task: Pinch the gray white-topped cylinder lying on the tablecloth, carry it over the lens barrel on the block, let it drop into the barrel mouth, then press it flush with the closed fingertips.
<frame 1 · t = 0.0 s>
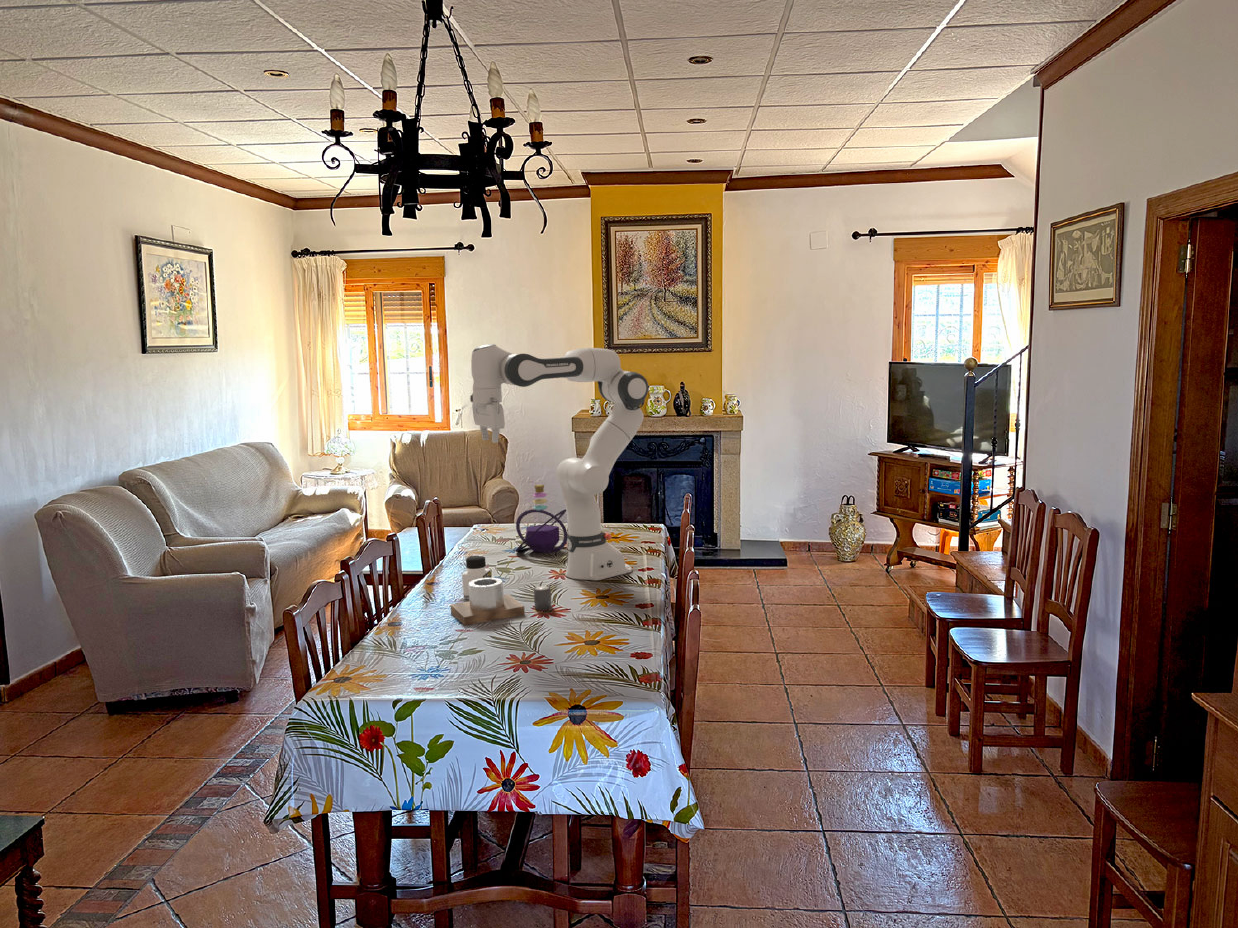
hand: (490, 441, 277), 48 cm above the table, fingers open, 8 cm apart
mounting block: (487, 613, 260), on the table
decorative bottle: (542, 550, 333), on the table
gray white-topped cylinder: (543, 607, 263), on the table
medicine bottle: (477, 593, 281), on the table
lens barrel: (486, 605, 259), resting on mounting block
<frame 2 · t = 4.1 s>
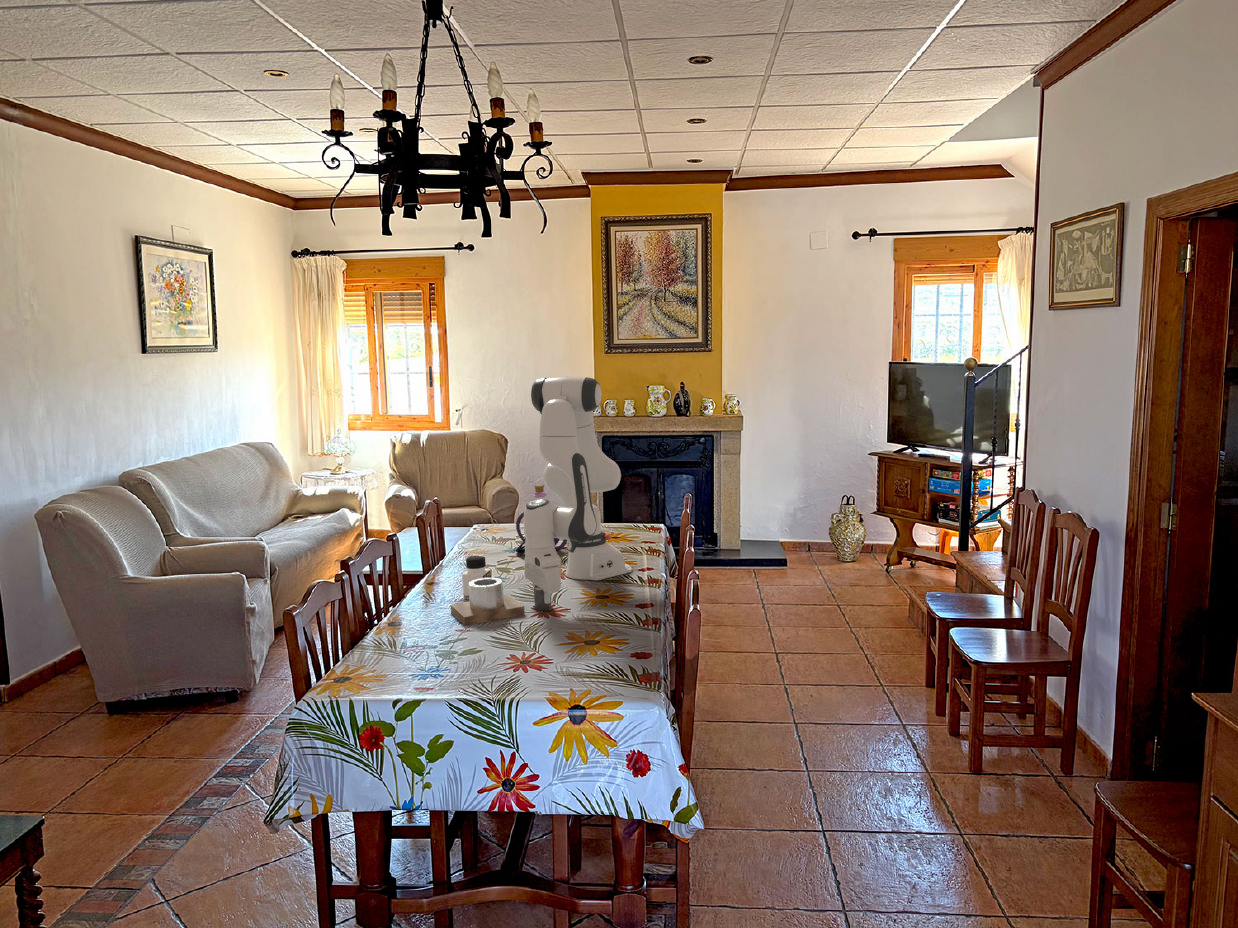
hand: (542, 600, 263), 2 cm above the table, fingers closed on gray white-topped cylinder, 5 cm apart
gray white-topped cylinder: (543, 607, 263), on the table, touching gripper
everything else where it was.
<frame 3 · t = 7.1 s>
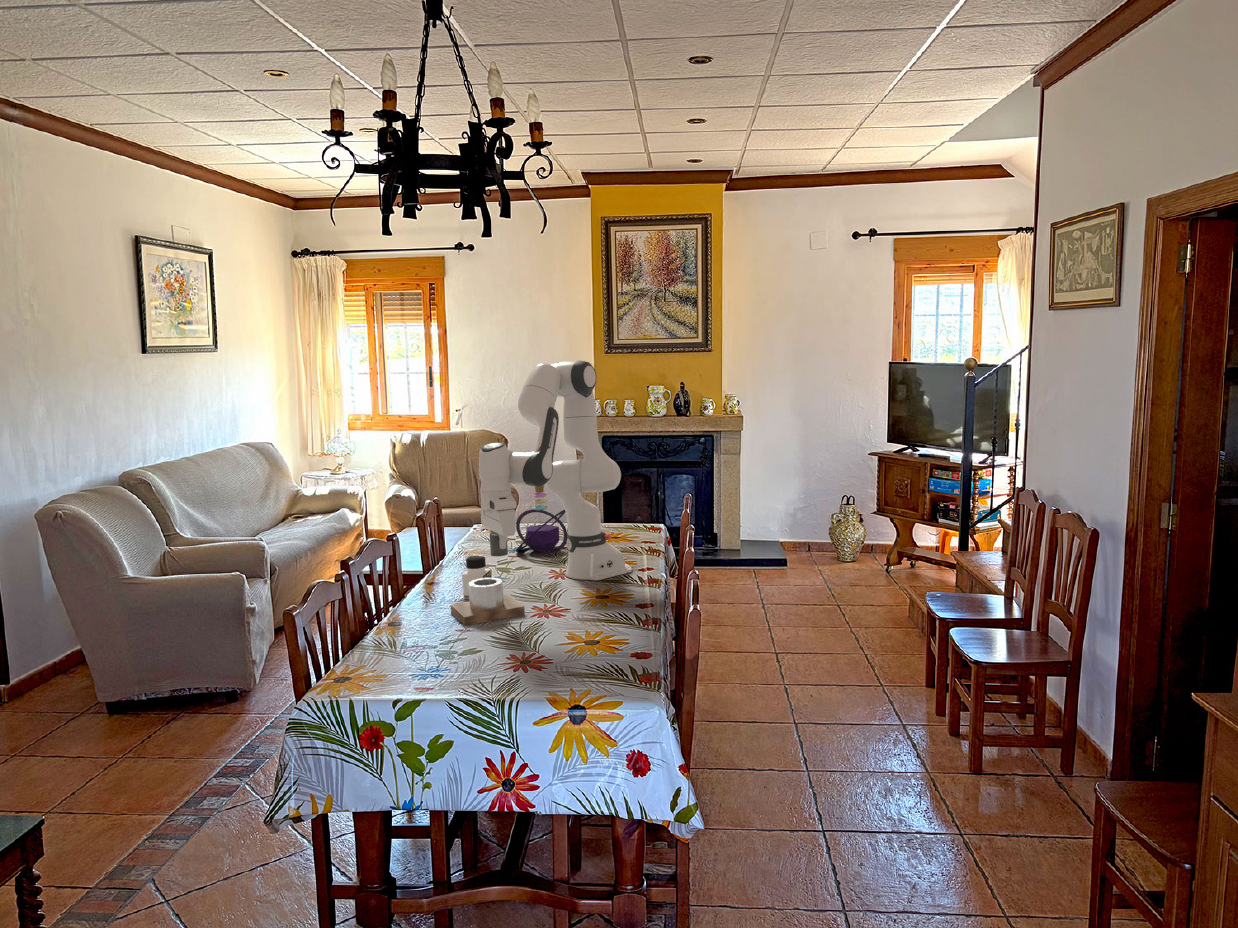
hand: (498, 546, 257), 20 cm above the table, fingers closed on gray white-topped cylinder, 5 cm apart
gray white-topped cylinder: (499, 554, 257), point 18 cm above the table, touching gripper
everything else where it was.
when the fingers open (11 cm above the table, at t = 9.9 s): gray white-topped cylinder drops 5 cm, resting on lens barrel.
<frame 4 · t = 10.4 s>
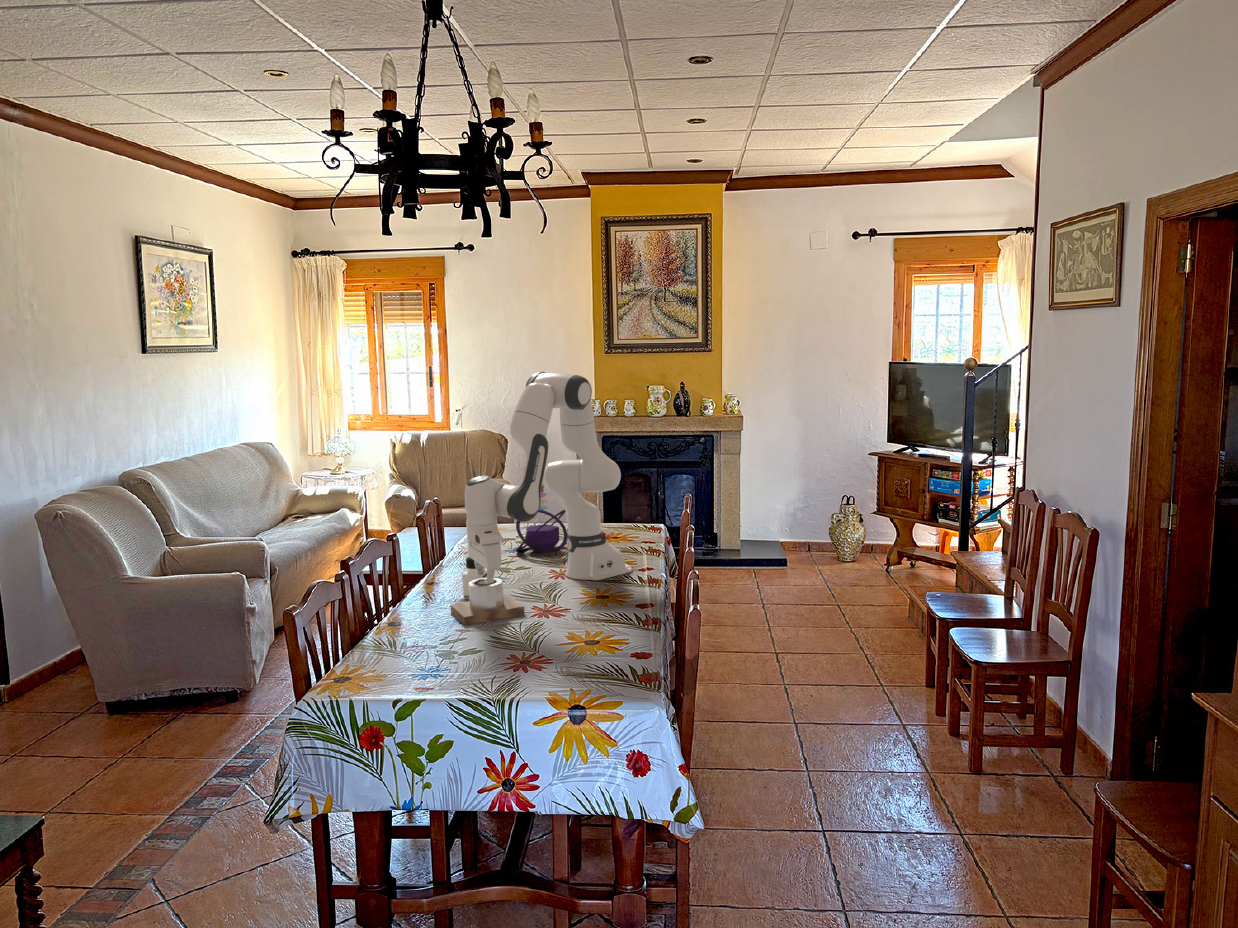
hand: (485, 578, 258), 11 cm above the table, fingers open, 8 cm apart
gray white-topped cylinder: (486, 602, 259), point 4 cm above the table, touching lens barrel
everything else where it was.
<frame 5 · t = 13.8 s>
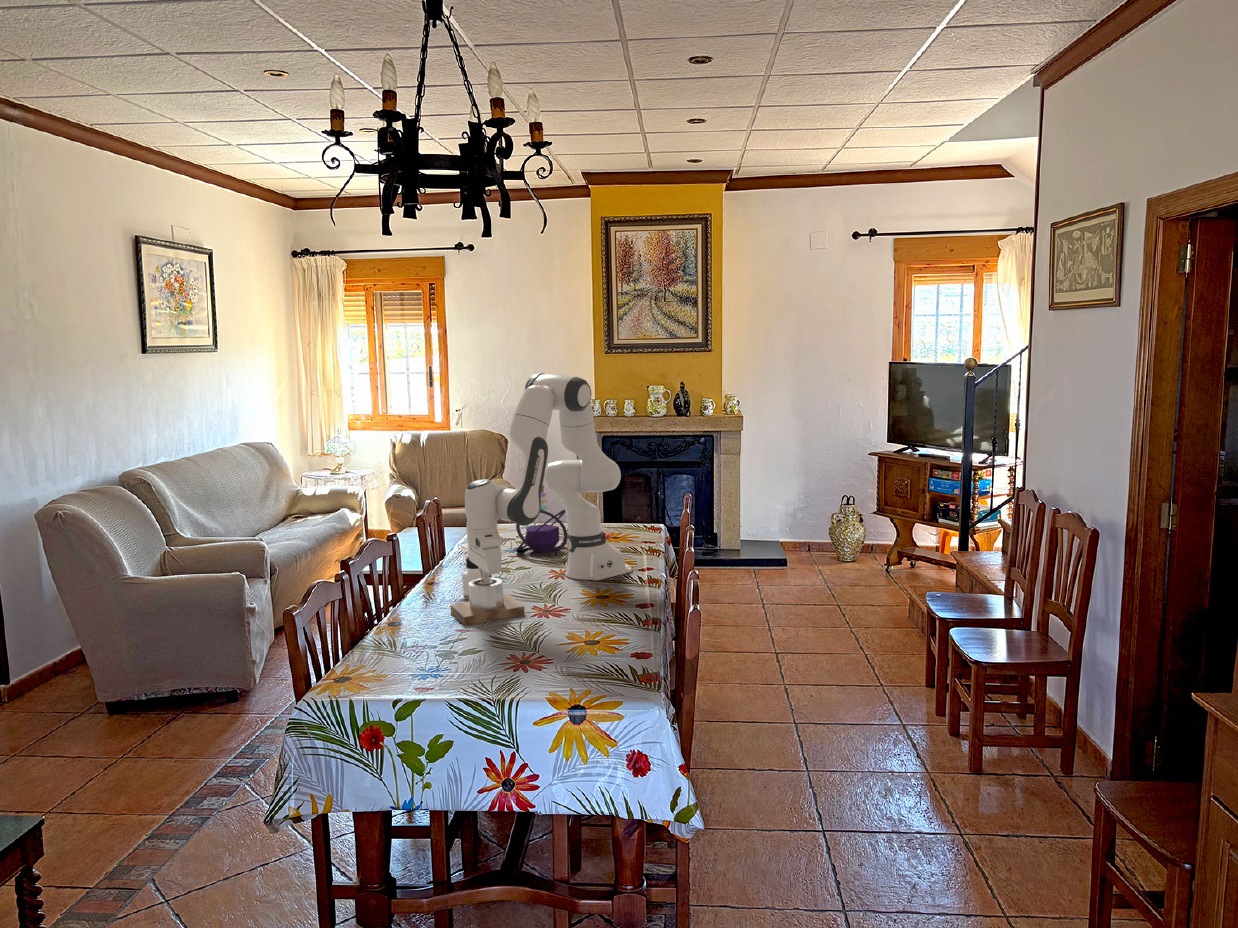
hand: (485, 582, 258), 10 cm above the table, fingers closed, pressing on gray white-topped cylinder
gray white-topped cylinder: (486, 602, 259), point 3 cm above the table, touching gripper, lens barrel
everything else where it was.
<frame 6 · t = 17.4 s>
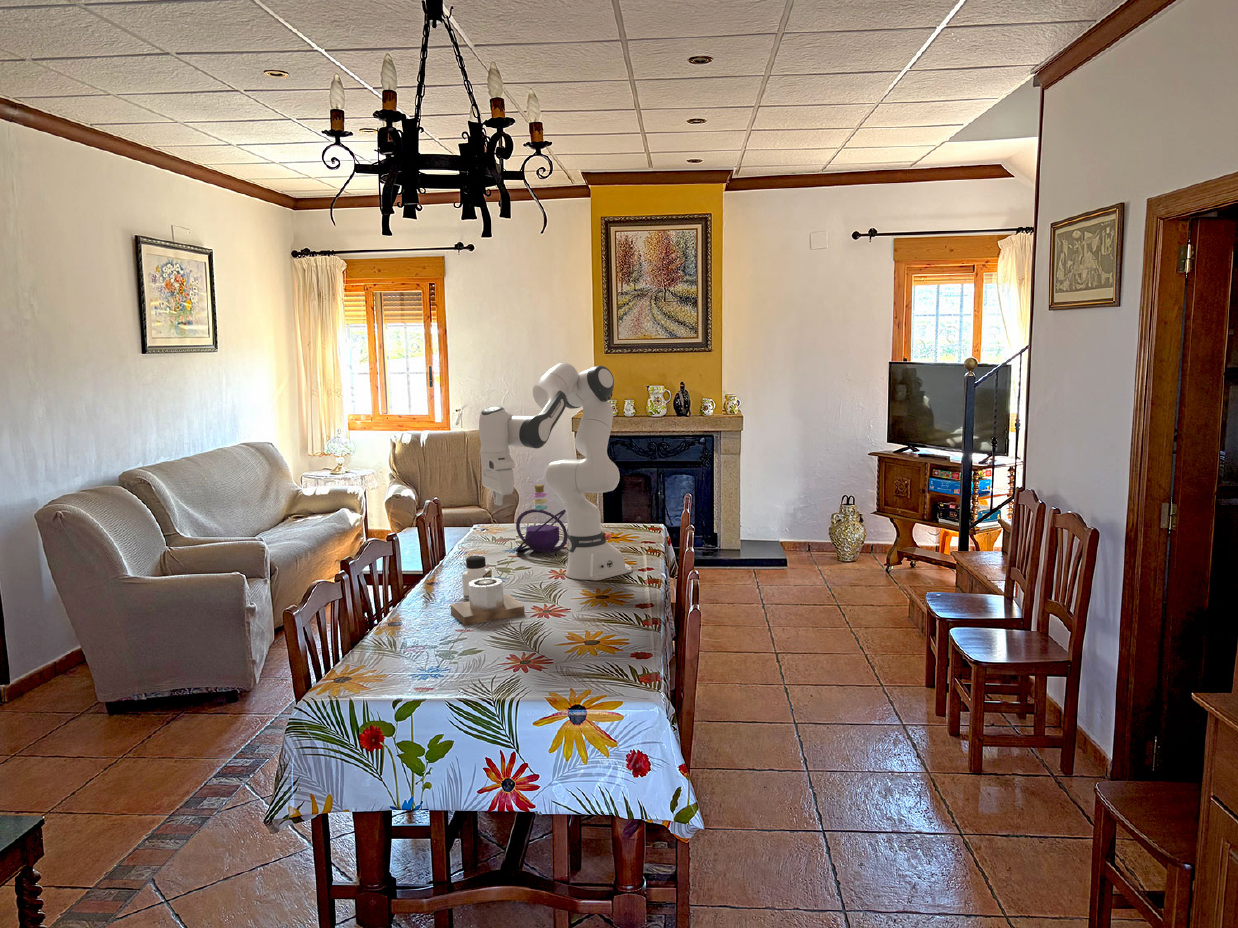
hand: (498, 504, 272), 29 cm above the table, fingers closed
gray white-topped cylinder: (486, 602, 259), point 3 cm above the table, touching lens barrel
everything else where it was.
at the end: gray white-topped cylinder 0.1 cm off-centre on the lens barrel, point 1.0 cm above the lens barrel's base; gray white-topped cylinder tilted 0°; the gripper is holding nothing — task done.
